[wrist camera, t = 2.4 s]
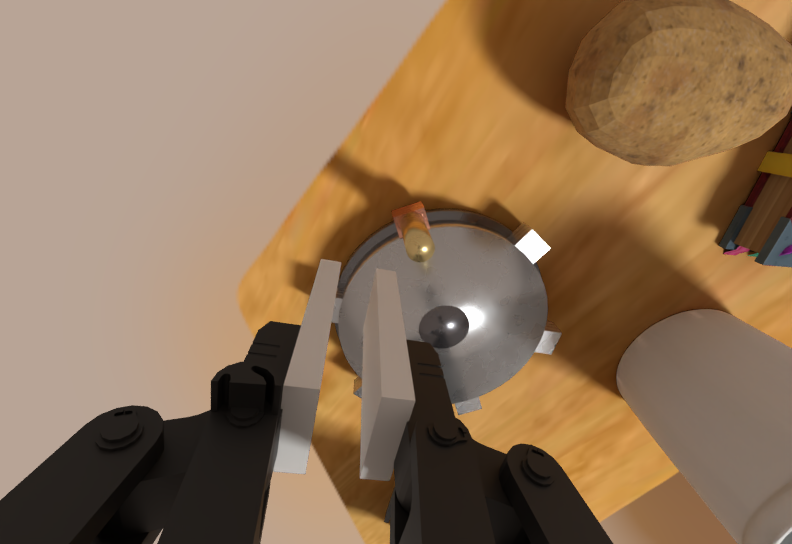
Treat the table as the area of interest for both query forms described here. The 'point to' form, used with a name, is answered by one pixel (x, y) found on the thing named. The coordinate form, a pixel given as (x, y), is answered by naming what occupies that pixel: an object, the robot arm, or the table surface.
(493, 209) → the table surface
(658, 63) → the potato
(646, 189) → the table surface
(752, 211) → the decorative book
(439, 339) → the sprocket
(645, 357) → the utensil holder
